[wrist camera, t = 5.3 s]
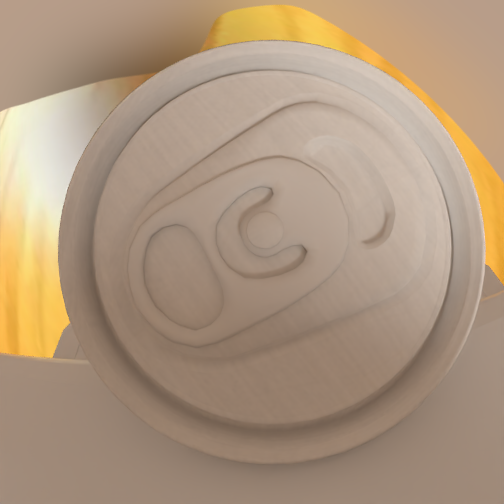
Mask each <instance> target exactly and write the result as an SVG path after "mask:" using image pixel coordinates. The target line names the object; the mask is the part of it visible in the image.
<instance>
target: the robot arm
mask: <svg viewBox="0 0 504 504" xmlns="http://www.w3.org/2000/svg"><path fill="white" fill-rule="evenodd" d="M0 504H504V286H503V284H502V283H501V282H500V280H499V279H498V278H497V276H496V275H495V274H494V272H493V271H492V270H491V268H490V267H489V266H488V265H486V264H485V273H484V280H483V286H482V292H481V298H480V302H479V305H478V309H477V312H476V316H475V319H474V322H473V325H472V327H471V330H470V332H469V335H468V337H467V339H466V342H465V344H464V346H463V348H462V350H461V352H460V353H459V355H458V357H457V359H456V360H455V362H454V364H453V365H452V367H451V369H450V370H449V372H448V373H447V374H446V376H445V377H444V378H443V380H442V381H441V382H440V384H439V385H438V386H437V387H436V389H435V390H434V391H433V392H432V393H431V394H430V395H429V396H428V397H427V398H426V399H425V400H424V401H423V402H422V404H421V405H420V406H418V407H417V408H416V409H415V410H414V411H413V412H412V413H411V414H409V415H408V416H407V417H406V418H404V419H403V420H402V421H401V422H399V423H398V424H397V425H395V426H394V427H392V428H391V429H389V430H388V431H386V432H384V433H383V434H381V435H379V436H378V437H376V438H374V439H372V440H371V441H369V442H366V443H364V444H362V445H360V446H357V447H355V448H353V449H350V450H348V451H346V452H343V453H339V454H336V455H333V456H329V457H326V458H322V459H318V460H312V461H306V462H300V463H292V464H254V463H244V462H236V461H231V460H227V459H223V458H218V457H214V456H211V455H207V454H205V453H202V452H199V451H196V450H194V449H191V448H189V447H186V446H184V445H182V444H180V443H178V442H176V441H174V440H172V439H170V438H168V437H166V436H164V435H163V434H161V433H159V432H158V431H156V430H155V429H153V428H152V427H150V426H149V425H148V424H146V423H145V422H143V421H142V420H141V419H139V418H138V417H137V416H135V415H134V414H133V413H132V412H131V411H130V410H129V409H128V408H127V407H126V406H124V405H123V404H122V403H121V402H120V401H119V400H118V399H117V398H116V397H115V396H114V394H113V393H112V392H111V391H110V390H109V389H108V387H107V386H106V385H105V384H104V383H103V381H102V380H101V379H100V378H99V376H98V375H97V373H96V372H95V370H94V369H93V367H92V366H91V364H90V362H89V361H88V359H87V358H86V356H85V354H84V352H83V350H82V348H81V346H80V344H79V342H78V340H77V338H76V336H75V334H74V331H73V328H72V325H71V323H70V324H69V325H68V326H67V327H66V328H65V329H64V330H63V332H62V335H61V337H60V340H59V343H58V345H57V348H56V350H55V353H54V356H53V358H45V357H34V356H24V355H15V354H6V353H0Z"/></svg>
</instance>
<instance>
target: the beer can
mask: <svg viewBox="0 0 504 504" xmlns="http://www.w3.org/2000/svg"><path fill="white" fill-rule="evenodd" d="M58 263H59V274H60V283H61V289H62V294H63V298H64V303H65V307H66V311H67V314H68V317H69V320H70V323H71V325H72V328H73V331H74V334H75V336H76V338H77V340H78V342H79V344H80V346H81V348H82V350H83V352H84V354H85V356H86V358H87V359H88V361H89V362H90V364H91V366H92V367H93V369H94V370H95V372H96V373H97V375H98V376H99V378H100V379H101V380H102V381H103V383H104V384H105V385H106V386H107V387H108V389H109V390H110V391H111V392H112V393H113V394H114V396H115V397H116V398H117V399H118V400H119V401H120V402H121V403H122V404H123V405H124V406H126V407H127V408H128V409H129V410H130V411H131V412H132V413H133V414H134V415H135V416H137V417H138V418H139V419H141V420H142V421H143V422H145V423H146V424H148V425H149V426H150V427H152V428H153V429H155V430H156V431H158V432H159V433H161V434H163V435H164V436H166V437H168V438H170V439H172V440H174V441H176V442H178V443H180V444H182V445H184V446H186V447H189V448H191V449H194V450H196V451H199V452H202V453H205V454H207V455H211V456H214V457H218V458H223V459H227V460H231V461H236V462H244V463H254V464H292V463H300V462H306V461H312V460H318V459H322V458H326V457H329V456H333V455H336V454H339V453H343V452H346V451H348V450H350V449H353V448H355V447H357V446H360V445H362V444H364V443H366V442H369V441H371V440H372V439H374V438H376V437H378V436H379V435H381V434H383V433H384V432H386V431H388V430H389V429H391V428H392V427H394V426H395V425H397V424H398V423H399V422H401V421H402V420H403V419H404V418H406V417H407V416H408V415H409V414H411V413H412V412H413V411H414V410H415V409H416V408H417V407H418V406H420V405H421V404H422V402H423V401H424V400H425V399H426V398H427V397H428V396H429V395H430V394H431V393H432V392H433V391H434V390H435V389H436V387H437V386H438V385H439V384H440V382H441V381H442V380H443V378H444V377H445V376H446V374H447V373H448V372H449V370H450V369H451V367H452V365H453V364H454V362H455V360H456V359H457V357H458V355H459V353H460V352H461V350H462V348H463V346H464V344H465V342H466V339H467V337H468V335H469V332H470V330H471V327H472V325H473V322H474V319H475V316H476V312H477V309H478V305H479V302H480V298H481V292H482V286H483V280H484V273H485V234H484V224H483V218H482V213H481V208H480V203H479V198H478V195H477V192H476V189H475V186H474V183H473V180H472V177H471V174H470V172H469V170H468V168H467V165H466V163H465V161H464V159H463V157H462V155H461V153H460V151H459V149H458V148H457V146H456V144H455V143H454V141H453V139H452V138H451V136H450V134H449V133H448V132H447V130H446V129H445V128H444V126H443V125H442V124H441V122H440V121H439V120H438V118H437V117H436V116H435V115H434V114H433V112H432V111H431V110H430V109H429V108H428V107H427V106H426V105H425V104H424V103H423V102H422V101H421V100H420V99H419V98H418V97H417V96H416V95H415V94H413V93H412V92H411V91H410V90H409V89H407V88H406V87H405V86H404V85H403V84H401V83H400V82H399V81H397V80H396V79H394V78H393V77H391V76H390V75H388V74H387V73H385V72H384V71H382V70H380V69H379V68H377V67H375V66H373V65H371V64H369V63H367V62H365V61H363V60H361V59H359V58H356V57H354V56H352V55H349V54H346V53H344V52H341V51H338V50H335V49H331V48H328V47H324V46H320V45H315V44H310V43H304V42H297V41H284V40H259V41H247V42H240V43H234V44H228V45H224V46H220V47H216V48H212V49H209V50H206V51H203V52H200V53H197V54H195V55H192V56H189V57H187V58H185V59H183V60H181V61H178V62H176V63H174V64H172V65H170V66H169V67H167V68H165V69H163V70H162V71H160V72H158V73H157V74H155V75H154V76H152V77H151V78H149V79H148V80H146V81H145V82H144V83H142V84H141V85H140V86H139V87H137V88H136V89H135V90H134V91H132V92H131V93H130V94H129V95H128V96H127V97H126V98H125V99H124V100H123V101H122V102H121V103H120V104H119V105H118V106H117V107H116V108H115V109H114V110H113V111H112V112H111V113H110V114H109V116H108V117H107V118H106V119H105V120H104V122H103V123H102V124H101V125H100V127H99V128H98V130H97V131H96V133H95V134H94V136H93V137H92V139H91V140H90V142H89V143H88V145H87V147H86V148H85V150H84V152H83V154H82V156H81V158H80V160H79V162H78V164H77V166H76V168H75V171H74V174H73V176H72V179H71V182H70V184H69V187H68V190H67V194H66V198H65V202H64V206H63V210H62V215H61V222H60V230H59V244H58Z"/></svg>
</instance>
